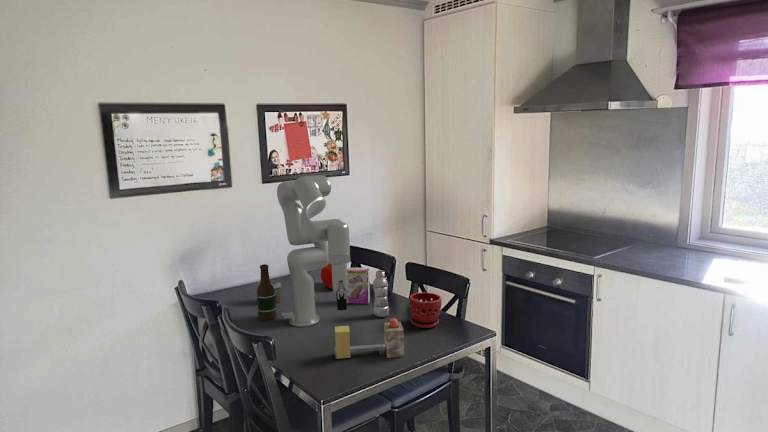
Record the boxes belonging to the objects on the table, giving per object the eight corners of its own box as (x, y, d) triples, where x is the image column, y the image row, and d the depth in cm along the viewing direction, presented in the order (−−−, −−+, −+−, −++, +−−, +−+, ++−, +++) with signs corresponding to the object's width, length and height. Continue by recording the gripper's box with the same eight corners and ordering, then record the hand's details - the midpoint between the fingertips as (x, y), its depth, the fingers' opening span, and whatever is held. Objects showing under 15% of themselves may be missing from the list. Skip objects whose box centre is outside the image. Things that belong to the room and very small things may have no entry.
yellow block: (336, 358, 178) (335, 332, 177) (335, 352, 184) (334, 326, 182) (350, 357, 179) (349, 331, 177) (349, 351, 184) (348, 325, 182)
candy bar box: (345, 304, 234) (343, 270, 231) (346, 300, 239) (345, 267, 236) (368, 304, 233) (367, 270, 230) (370, 300, 238) (369, 267, 235)
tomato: (347, 292, 252) (346, 265, 249) (319, 292, 252) (318, 266, 250) (349, 282, 267) (348, 257, 265) (323, 282, 267) (322, 257, 265)
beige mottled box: (387, 358, 179) (386, 331, 177) (384, 348, 187) (384, 322, 185) (404, 357, 179) (403, 330, 178) (400, 347, 188) (400, 321, 186)
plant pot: (432, 332, 200) (432, 303, 198) (404, 326, 207) (403, 298, 205) (446, 321, 211) (446, 294, 209) (419, 316, 218) (418, 289, 216)
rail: (334, 358, 180) (334, 350, 179) (334, 355, 182) (334, 347, 182) (387, 354, 182) (387, 346, 181) (386, 351, 184) (386, 343, 184)
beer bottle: (259, 315, 222) (256, 263, 218) (277, 314, 223) (274, 262, 219) (257, 322, 215) (253, 267, 211) (275, 321, 215) (272, 267, 211)
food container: (253, 303, 238) (251, 283, 236) (260, 299, 243) (259, 279, 242) (275, 306, 233) (273, 286, 231) (282, 302, 239) (281, 282, 237)
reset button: (390, 332, 180) (390, 321, 180) (389, 329, 183) (389, 318, 182) (398, 332, 181) (397, 320, 180) (397, 328, 184) (396, 317, 183)
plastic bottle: (387, 319, 215) (386, 274, 211) (372, 318, 216) (370, 273, 213) (390, 313, 221) (389, 269, 218) (375, 313, 222) (374, 269, 219)
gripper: (328, 253, 183) (330, 298, 186) (328, 265, 167) (331, 314, 169) (348, 251, 184) (350, 297, 187) (351, 263, 167) (353, 312, 170)
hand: (341, 305), depth 178 cm, fingers open, 9 cm apart
